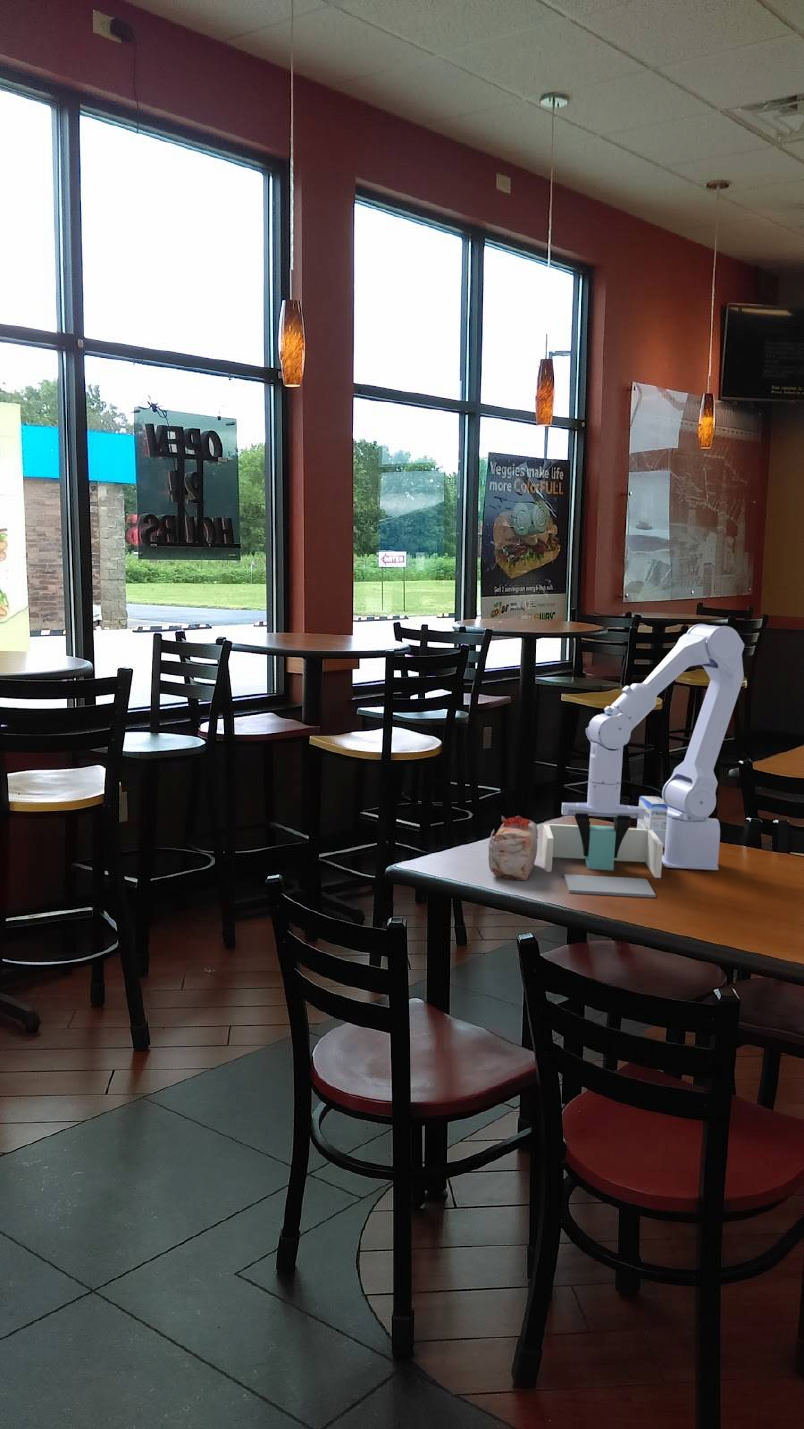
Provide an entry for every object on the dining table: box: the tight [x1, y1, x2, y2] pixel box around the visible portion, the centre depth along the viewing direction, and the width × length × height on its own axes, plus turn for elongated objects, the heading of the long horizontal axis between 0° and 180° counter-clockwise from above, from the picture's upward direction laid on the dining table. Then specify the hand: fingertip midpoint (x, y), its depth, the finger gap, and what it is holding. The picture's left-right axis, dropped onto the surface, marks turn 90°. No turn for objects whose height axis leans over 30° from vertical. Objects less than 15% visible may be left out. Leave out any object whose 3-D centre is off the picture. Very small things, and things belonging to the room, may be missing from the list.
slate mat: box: [563, 873, 657, 898], centre depth 190 cm, size 14×10×1 cm
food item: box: [487, 815, 539, 881], centre depth 197 cm, size 14×8×10 cm, turn 169°
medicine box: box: [636, 795, 668, 848], centre depth 224 cm, size 8×4×9 cm, turn 6°
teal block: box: [585, 824, 616, 871], centre depth 203 cm, size 4×4×7 cm
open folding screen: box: [541, 823, 664, 879], centre depth 204 cm, size 20×12×6 cm, turn 86°
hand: (599, 855), depth 204 cm, fingers closed on teal block, 4 cm apart
